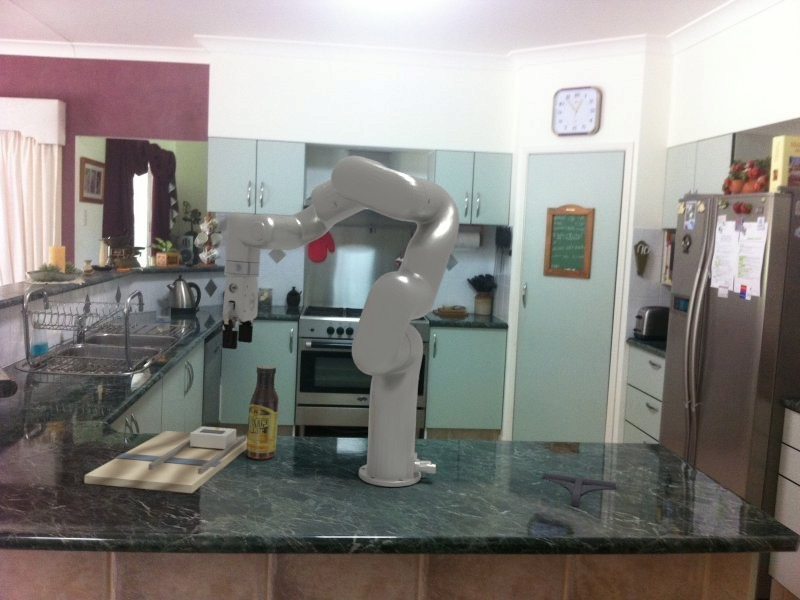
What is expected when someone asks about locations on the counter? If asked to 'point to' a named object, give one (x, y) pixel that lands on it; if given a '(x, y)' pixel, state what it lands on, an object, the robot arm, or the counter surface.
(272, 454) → the sauce bottle
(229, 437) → the white rectangular box
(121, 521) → the counter surface
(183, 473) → the wooden cutting board
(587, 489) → the bracket
